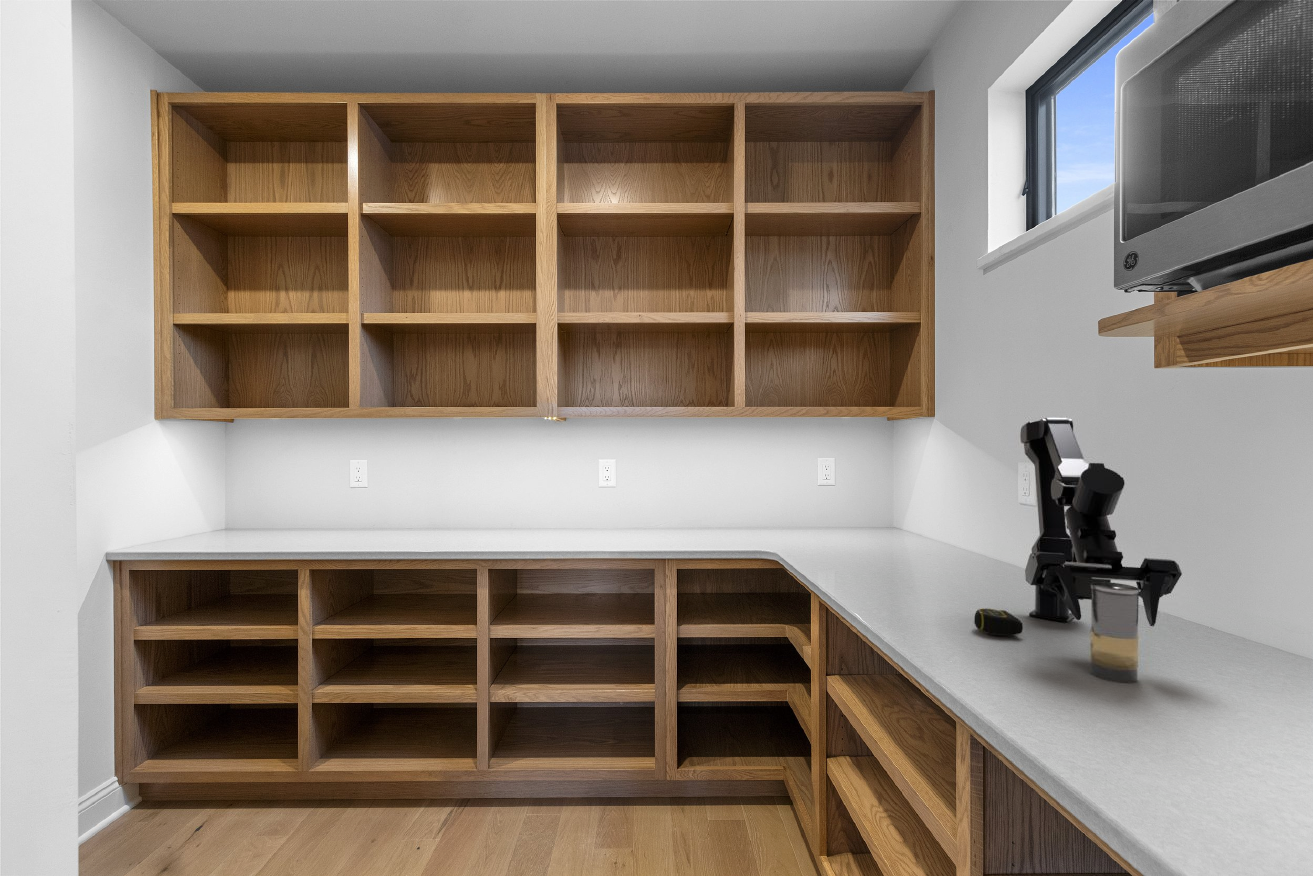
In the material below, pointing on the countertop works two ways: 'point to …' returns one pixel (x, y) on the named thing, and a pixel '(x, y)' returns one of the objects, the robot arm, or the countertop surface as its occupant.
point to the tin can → (1114, 631)
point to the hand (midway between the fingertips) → (1115, 621)
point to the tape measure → (997, 622)
